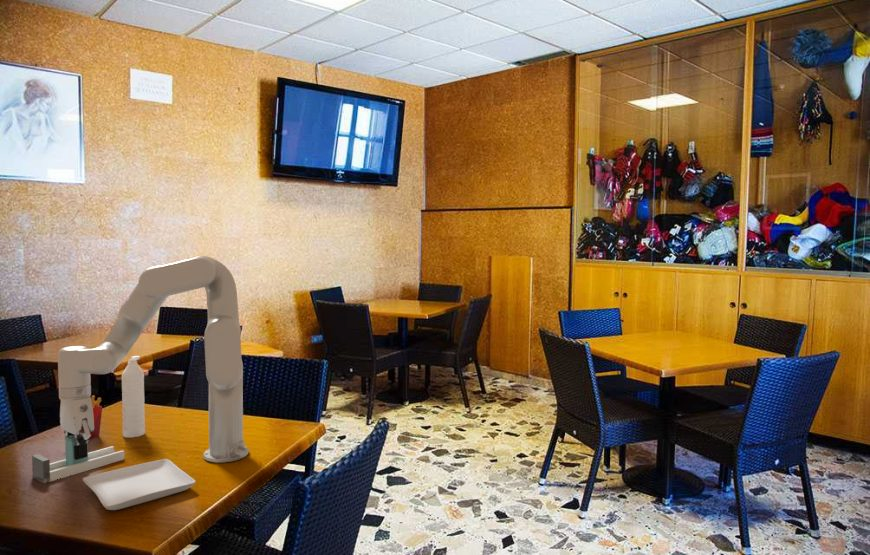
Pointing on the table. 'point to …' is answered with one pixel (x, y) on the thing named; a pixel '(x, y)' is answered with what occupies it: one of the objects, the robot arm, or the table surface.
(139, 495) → the salad plate
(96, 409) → the french fries
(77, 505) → the table surface
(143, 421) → the water bottle
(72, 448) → the block
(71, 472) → the channel
